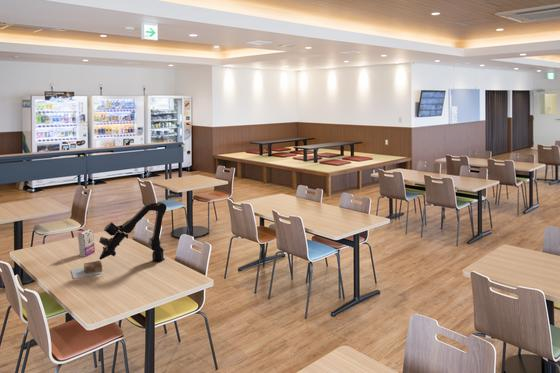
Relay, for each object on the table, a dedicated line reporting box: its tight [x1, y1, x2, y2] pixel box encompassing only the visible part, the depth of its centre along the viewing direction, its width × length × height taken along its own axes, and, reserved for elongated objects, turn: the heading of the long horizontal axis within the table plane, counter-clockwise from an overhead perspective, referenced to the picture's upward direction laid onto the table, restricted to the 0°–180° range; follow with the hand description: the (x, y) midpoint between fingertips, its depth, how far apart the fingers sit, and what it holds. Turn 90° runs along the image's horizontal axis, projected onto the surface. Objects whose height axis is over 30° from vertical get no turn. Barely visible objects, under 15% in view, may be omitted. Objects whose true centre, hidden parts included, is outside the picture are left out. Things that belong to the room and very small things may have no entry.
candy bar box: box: [77, 229, 96, 258], centre depth 336 cm, size 11×5×16 cm, turn 168°
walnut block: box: [83, 260, 103, 274], centre depth 304 cm, size 4×7×10 cm
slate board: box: [70, 267, 102, 279], centre depth 302 cm, size 16×16×1 cm
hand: (99, 259), depth 305 cm, fingers closed
